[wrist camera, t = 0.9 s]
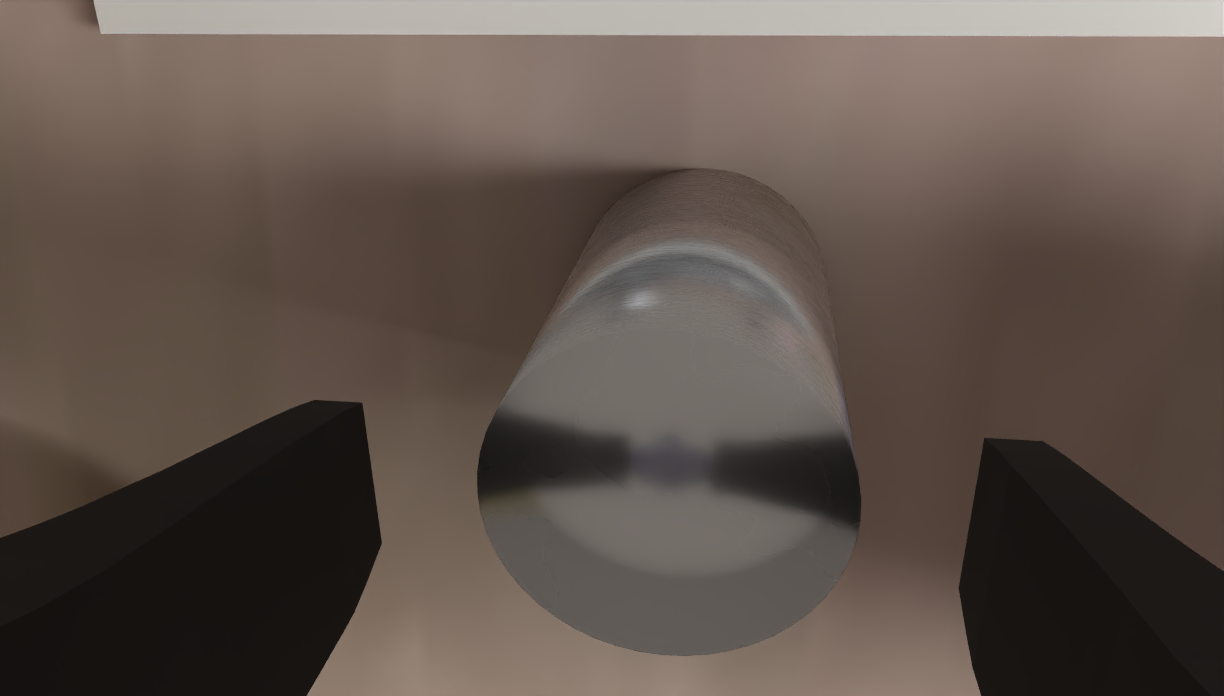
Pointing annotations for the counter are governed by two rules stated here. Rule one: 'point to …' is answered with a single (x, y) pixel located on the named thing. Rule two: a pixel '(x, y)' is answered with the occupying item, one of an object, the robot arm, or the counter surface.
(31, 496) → the counter surface
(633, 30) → the grey rectangular tray
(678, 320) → the cylinder
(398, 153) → the counter surface
